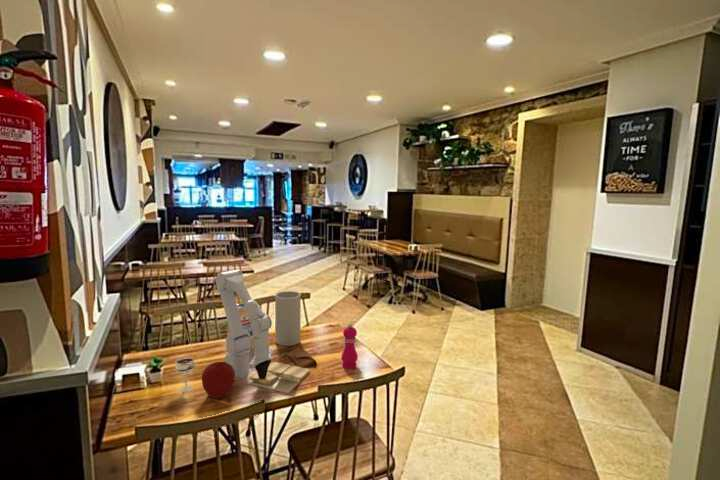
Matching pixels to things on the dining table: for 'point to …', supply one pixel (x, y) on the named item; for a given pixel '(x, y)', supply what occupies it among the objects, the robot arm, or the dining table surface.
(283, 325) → the cylinder vase
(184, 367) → the wineglass
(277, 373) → the plank
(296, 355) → the brown shoe
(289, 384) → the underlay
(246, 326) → the beverage box
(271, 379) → the plank
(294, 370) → the laid row
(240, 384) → the dining table surface
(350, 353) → the pepper mill
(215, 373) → the apple
